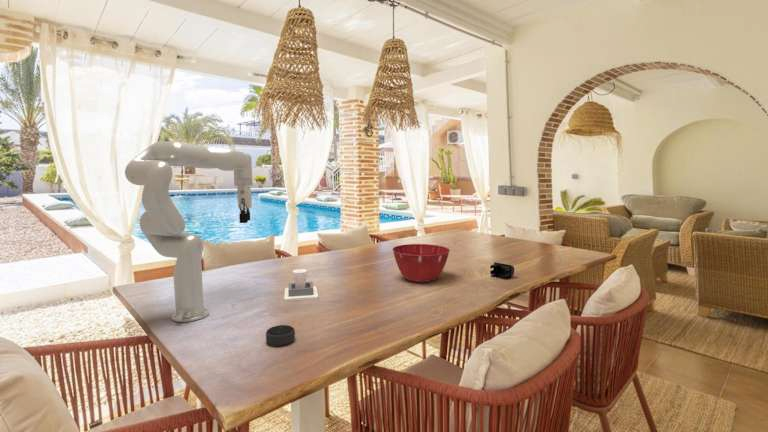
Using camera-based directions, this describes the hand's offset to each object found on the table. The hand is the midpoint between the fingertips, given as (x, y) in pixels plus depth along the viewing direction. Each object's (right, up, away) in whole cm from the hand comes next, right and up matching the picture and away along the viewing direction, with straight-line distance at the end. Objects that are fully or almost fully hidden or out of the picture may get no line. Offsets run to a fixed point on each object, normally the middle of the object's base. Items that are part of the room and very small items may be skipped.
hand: (245, 221), depth 177 cm
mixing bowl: (+80, -29, +25) cm, 88 cm away
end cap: (+121, -29, +28) cm, 127 cm away
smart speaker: (+28, -38, -48) cm, 68 cm away
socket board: (+24, -32, +1) cm, 40 cm away
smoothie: (+24, -31, +1) cm, 40 cm away
